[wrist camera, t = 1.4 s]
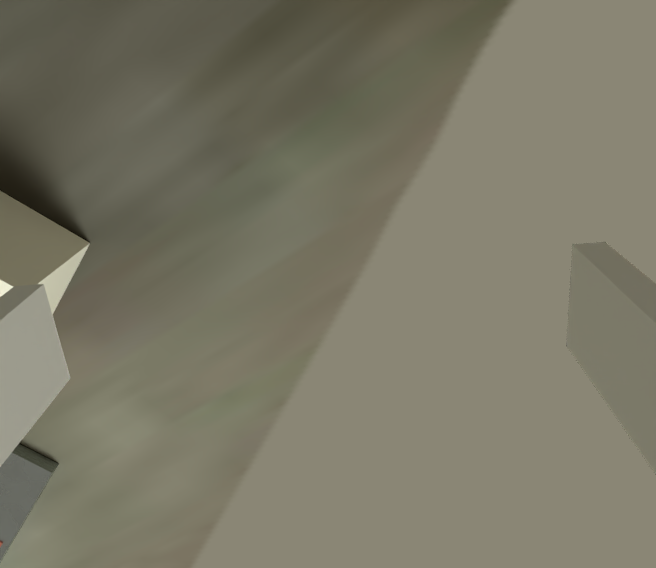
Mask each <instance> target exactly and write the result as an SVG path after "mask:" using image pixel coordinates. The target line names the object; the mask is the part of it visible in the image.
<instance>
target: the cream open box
mask: <svg viewBox="0 0 656 568" xmlns="http://www.w3.org/2000/svg"><path fill="white" fill-rule="evenodd" d="M89 244H90V243H89V242H87V241H86V240H84V239H82V238H80V237H79V236H77V235H75V234H74V233H72V232H70V231H68V230H67V229H65V228H63V227H62V226H60V225H58V224H56V223H55V222H53V221H51V220H50V219H48V218H46V217H44V216H43V215H41V214H39V213H38V212H36V211H34V210H32V209H31V208H29V207H27V206H26V205H24V204H22V203H20V202H19V201H17V200H15V199H14V198H12V197H10V196H8V195H7V194H5V193H3V192H2V191H0V297H1V296H2V295H4V294H5V293H6V292H8V291H9V290H10V289H11V288H13V287H14V286H23V285H36V284H44V287H45V290H46V294H47V297H48V301H49V304H50V308H51V312H52V315H53V313H54V311H55V309H56V307H57V305H58V303H59V301H60V299H61V298H62V296H63V294H64V292H65V290H66V288H67V286H68V284H69V282H70V280H71V279H72V277H73V275H74V273H75V271H76V269H77V267H78V265H79V263H80V261H81V260H82V258H83V256H84V254H85V252H86V250H87V248H88V246H89Z"/></svg>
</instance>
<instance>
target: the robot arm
mask: <svg viewBox="0 0 656 568" xmlns="http://www.w3.org/2000/svg"><path fill="white" fill-rule="evenodd" d="M569 294H570V295H569V310H568V326H567V343H566V346H567V348H568V349H569V351H570V352H571V353H572V355H573V356H574V358H575V359H576V361H577V362H578V363H579V365H580V366H581V368H582V369H583V371H584V372H585V374H586V375H587V376H588V378H589V379H590V381H591V382H592V384H593V385H594V387H595V388H596V389H597V391H598V392H599V394H600V395H601V397H602V398H603V400H604V401H605V402H606V404H607V405H608V407H609V408H610V410H611V411H612V412H613V414H614V415H615V417H616V418H617V420H618V421H619V422H620V424H621V425H622V427H623V428H624V430H625V431H626V433H627V434H628V436H629V437H630V438H631V440H632V441H633V443H634V444H635V446H636V447H637V448H638V450H639V451H640V453H641V454H642V456H643V457H644V459H645V460H646V461H647V463H648V464H649V466H650V467H651V469H652V470H653V471H654V473H655V474H656V283H654V282H653V281H652V280H651V279H650V278H648V277H647V276H646V275H645V274H643V273H642V272H641V271H640V270H639V269H637V268H636V267H635V266H634V265H633V264H631V263H630V262H629V261H628V260H626V259H625V258H624V257H623V256H622V255H620V254H619V253H618V252H617V251H615V250H614V249H613V248H612V247H610V246H609V245H608V244H607V243H606V242H597V243H584V244H573V245H572V261H571V277H570V293H569ZM69 379H70V375H69V372H68V368H67V365H66V361H65V357H64V354H63V350H62V347H61V343H60V340H59V336H58V333H57V329H56V326H55V322H54V319H53V315H52V312H51V308H50V304H49V301H48V297H47V294H46V290H45V287H44V284H36V285H23V286H14V287H13V288H11V289H10V290H9V291H8V292H6V293H5V294H4V295H2V296H1V297H0V467H1V465H2V464H3V463H4V462H5V460H6V459H7V458H8V457H9V455H10V454H11V453H12V452H13V450H14V449H15V448H16V446H17V445H18V444H19V443H20V441H21V440H22V439H23V438H24V436H25V435H26V434H27V433H28V431H29V430H30V429H31V428H32V426H33V425H34V424H35V422H36V421H37V420H38V419H39V417H40V416H41V415H42V414H43V412H44V411H45V410H46V409H47V407H48V406H49V405H50V403H51V402H52V401H53V400H54V398H55V397H56V396H57V395H58V393H59V392H60V391H61V390H62V388H63V387H64V386H65V385H66V383H67V382H68V381H69Z"/></svg>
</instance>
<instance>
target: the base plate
mask: <svg viewBox="0 0 656 568" xmlns="http://www.w3.org/2000/svg"><path fill="white" fill-rule="evenodd" d="M57 466H58V463H56V462H54V461H52V460H50V459H48V458H46V457H44V456H42V455H40V454H38V453H37V452H35V451H33V450H31V449H29V448H27V447H25V446H23V445H21V444H18V445H17V446H16V448H15V449H14V450H13V452H12V453H11V454H10V455H9V457H8V458H7V459H6V460H5V462H4V463H3V464H2V465H1V467H0V562H1V561H2V559H3V557H4V556H5V554H6V552H7V550H8V549H9V547H10V545H11V544H12V542H13V540H14V539H15V537H16V535H17V534H18V532H19V530H20V528H21V527H22V525H23V523H24V522H25V520H26V518H27V517H28V515H29V513H30V512H31V510H32V508H33V506H34V505H35V503H36V501H37V500H38V498H39V496H40V495H41V493H42V491H43V490H44V488H45V486H46V484H47V483H48V481H49V479H50V478H51V476H52V474H53V473H54V471H55V469H56V468H57Z"/></svg>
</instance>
